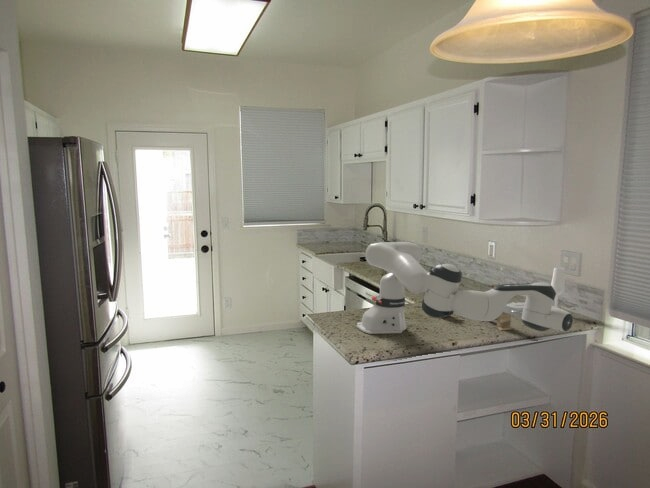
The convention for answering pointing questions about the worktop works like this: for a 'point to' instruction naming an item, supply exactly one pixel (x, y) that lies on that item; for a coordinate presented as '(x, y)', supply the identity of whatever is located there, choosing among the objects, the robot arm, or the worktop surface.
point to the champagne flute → (558, 282)
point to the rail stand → (503, 322)
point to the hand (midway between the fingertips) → (513, 303)
